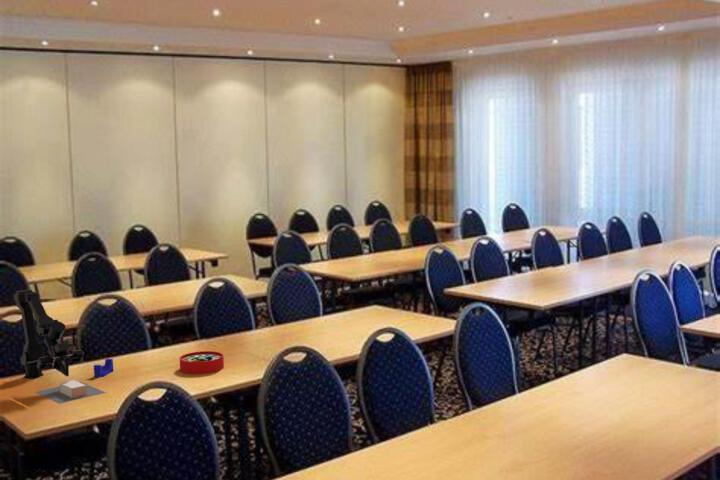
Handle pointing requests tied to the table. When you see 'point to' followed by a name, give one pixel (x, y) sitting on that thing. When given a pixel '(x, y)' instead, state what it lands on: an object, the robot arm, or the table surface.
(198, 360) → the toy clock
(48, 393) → the rubber mat
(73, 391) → the cream block
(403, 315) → the table surface
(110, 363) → the cable clip
